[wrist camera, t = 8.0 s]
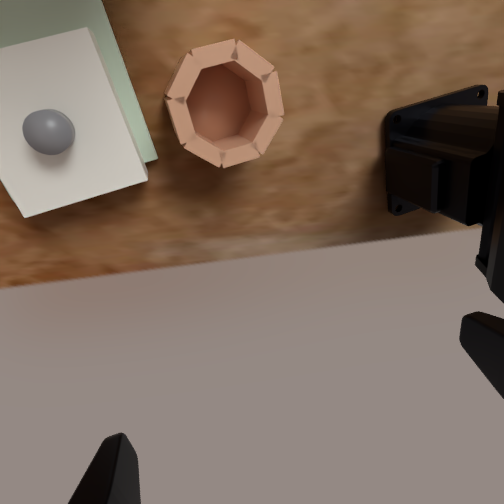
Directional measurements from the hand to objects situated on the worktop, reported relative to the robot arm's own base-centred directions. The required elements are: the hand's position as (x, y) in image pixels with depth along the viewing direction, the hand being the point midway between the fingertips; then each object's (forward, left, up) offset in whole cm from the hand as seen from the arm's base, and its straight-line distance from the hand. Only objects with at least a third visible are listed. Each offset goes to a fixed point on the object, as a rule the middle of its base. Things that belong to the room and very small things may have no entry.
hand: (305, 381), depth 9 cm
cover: (+6, -7, -12) cm, 15 cm away
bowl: (-1, -6, -13) cm, 14 cm away
